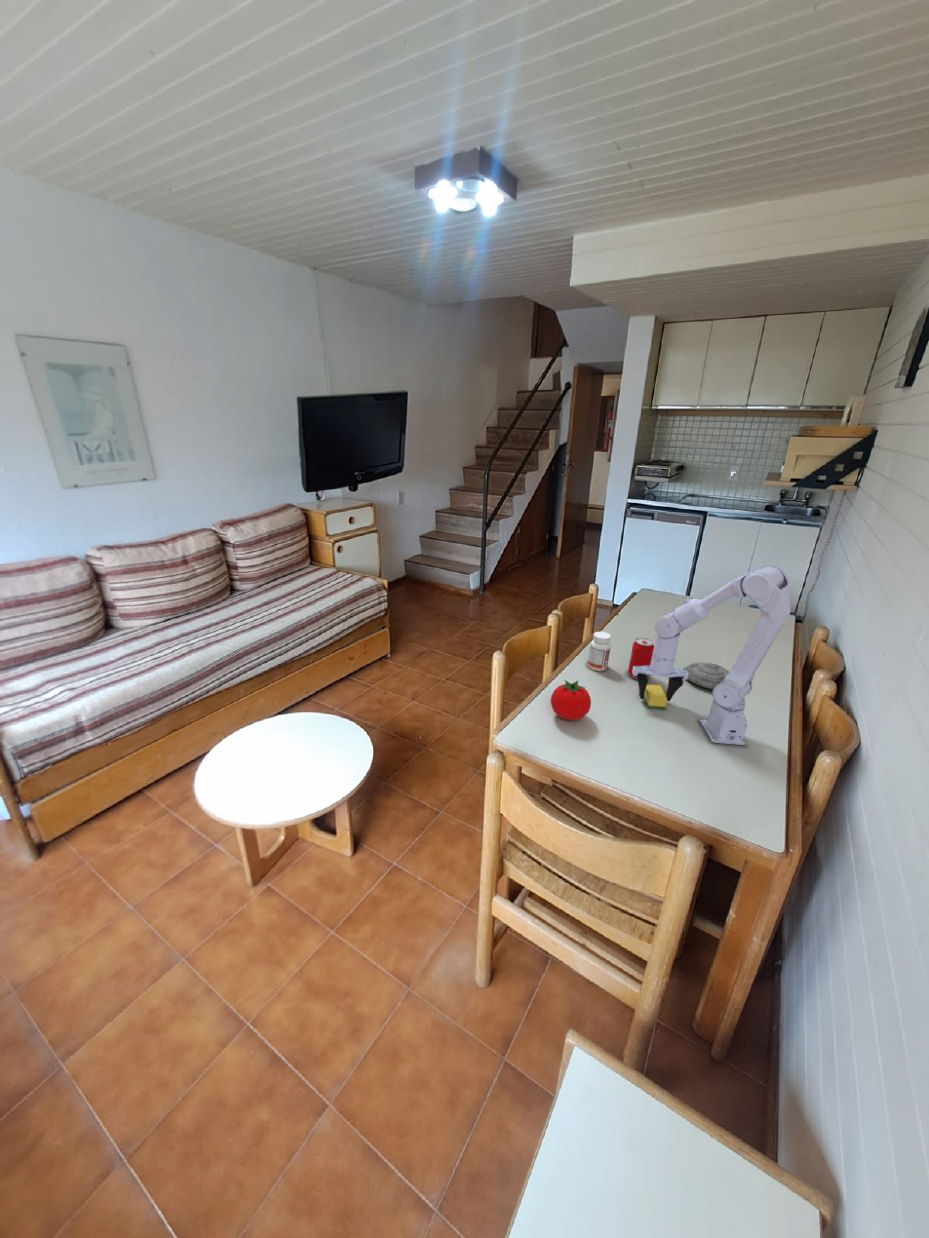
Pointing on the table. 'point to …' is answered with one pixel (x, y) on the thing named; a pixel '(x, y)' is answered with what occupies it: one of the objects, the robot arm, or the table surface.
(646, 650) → the beverage can
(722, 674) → the flying saucer
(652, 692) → the sponge
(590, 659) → the pill bottle
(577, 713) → the tomato
